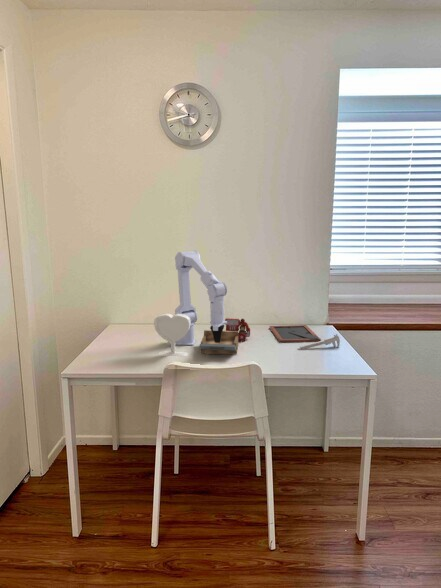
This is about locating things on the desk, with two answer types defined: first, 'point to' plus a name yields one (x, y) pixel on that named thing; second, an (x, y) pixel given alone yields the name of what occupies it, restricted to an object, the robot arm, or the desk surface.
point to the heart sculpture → (172, 330)
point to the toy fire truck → (234, 326)
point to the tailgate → (217, 347)
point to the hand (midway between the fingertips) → (217, 342)
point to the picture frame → (294, 334)
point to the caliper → (323, 342)
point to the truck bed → (221, 341)
